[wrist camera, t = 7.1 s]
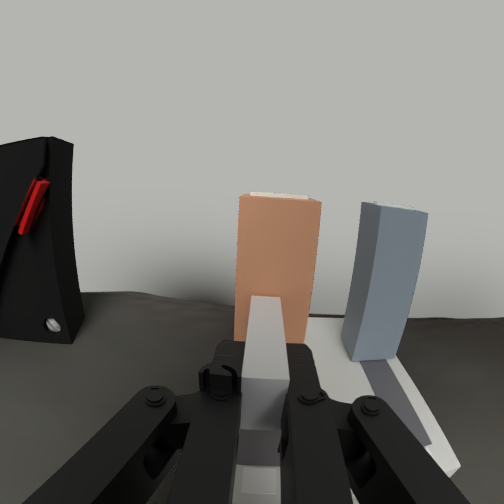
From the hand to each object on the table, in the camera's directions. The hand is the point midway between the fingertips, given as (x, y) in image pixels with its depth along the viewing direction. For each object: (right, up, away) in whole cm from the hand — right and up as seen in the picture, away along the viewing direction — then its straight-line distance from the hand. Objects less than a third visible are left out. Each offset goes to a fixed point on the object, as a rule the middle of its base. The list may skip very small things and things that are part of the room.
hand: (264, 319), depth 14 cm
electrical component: (-28, -5, +8) cm, 30 cm away
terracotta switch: (0, -5, +4) cm, 6 cm away
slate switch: (+9, -5, +7) cm, 12 cm away
